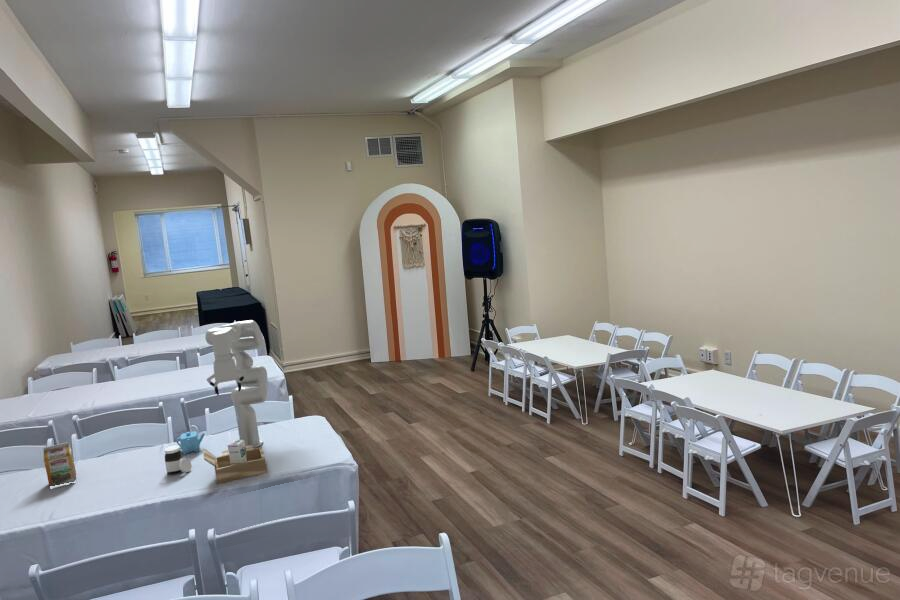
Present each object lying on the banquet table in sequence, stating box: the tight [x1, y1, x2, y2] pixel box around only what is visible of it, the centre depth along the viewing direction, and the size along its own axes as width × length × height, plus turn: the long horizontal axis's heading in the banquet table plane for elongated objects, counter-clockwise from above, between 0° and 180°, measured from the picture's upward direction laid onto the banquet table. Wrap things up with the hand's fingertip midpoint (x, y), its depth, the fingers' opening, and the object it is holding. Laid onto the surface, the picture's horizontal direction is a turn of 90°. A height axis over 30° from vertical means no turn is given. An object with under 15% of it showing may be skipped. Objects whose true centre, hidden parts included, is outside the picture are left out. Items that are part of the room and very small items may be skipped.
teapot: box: [175, 430, 206, 455], centre depth 336 cm, size 18×14×10 cm
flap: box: [203, 448, 217, 468], centre depth 297 cm, size 13×7×1 cm
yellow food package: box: [42, 442, 77, 488], centre depth 309 cm, size 11×10×19 cm
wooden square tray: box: [214, 445, 268, 485], centre depth 305 cm, size 22×22×7 cm
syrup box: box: [227, 439, 248, 465], centre depth 302 cm, size 6×6×14 cm
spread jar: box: [164, 444, 193, 475], centre depth 310 cm, size 12×11×12 cm
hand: (228, 392), depth 306 cm, fingers open, 9 cm apart
